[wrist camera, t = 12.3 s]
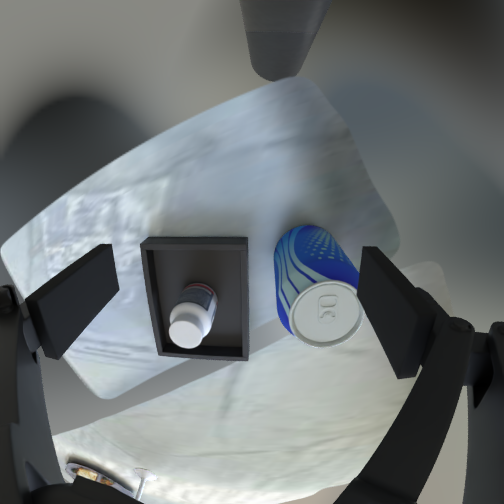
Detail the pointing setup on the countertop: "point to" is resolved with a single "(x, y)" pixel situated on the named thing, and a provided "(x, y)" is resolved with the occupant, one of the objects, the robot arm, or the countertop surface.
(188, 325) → the pill bottle
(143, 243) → the tray
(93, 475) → the food plate
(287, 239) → the beer can
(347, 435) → the countertop surface
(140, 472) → the champagne flute
